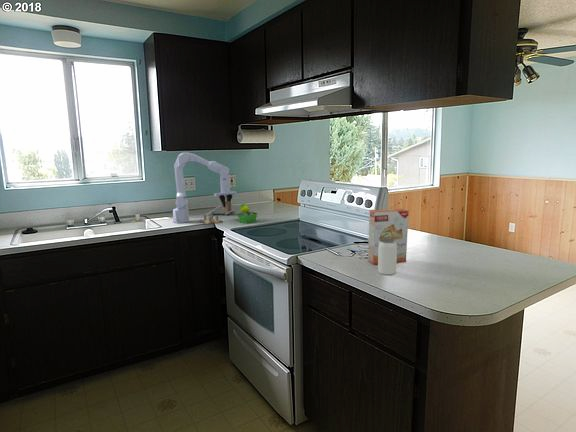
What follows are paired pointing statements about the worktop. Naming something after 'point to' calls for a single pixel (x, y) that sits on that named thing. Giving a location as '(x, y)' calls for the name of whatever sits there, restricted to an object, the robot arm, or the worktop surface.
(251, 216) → the fruit basket
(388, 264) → the can
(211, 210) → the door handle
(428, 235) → the worktop surface
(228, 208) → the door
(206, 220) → the beige irregular piece
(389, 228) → the cracker box
